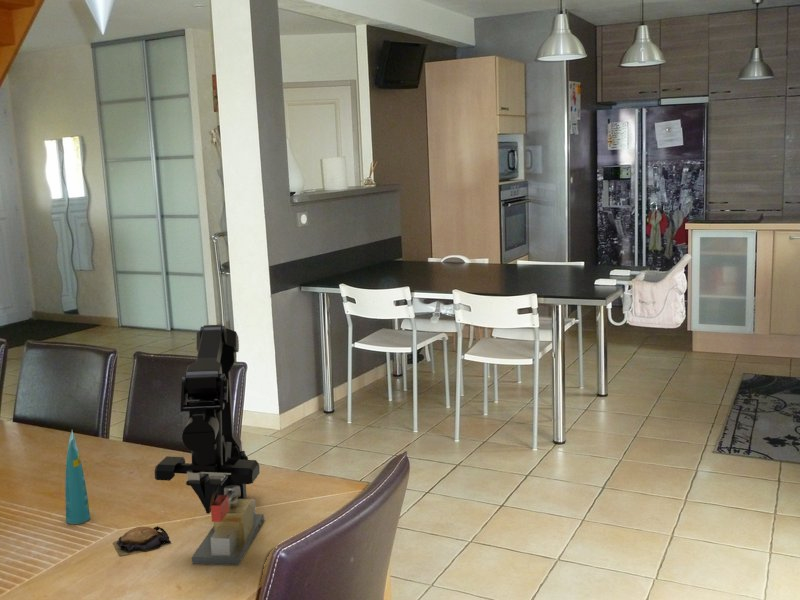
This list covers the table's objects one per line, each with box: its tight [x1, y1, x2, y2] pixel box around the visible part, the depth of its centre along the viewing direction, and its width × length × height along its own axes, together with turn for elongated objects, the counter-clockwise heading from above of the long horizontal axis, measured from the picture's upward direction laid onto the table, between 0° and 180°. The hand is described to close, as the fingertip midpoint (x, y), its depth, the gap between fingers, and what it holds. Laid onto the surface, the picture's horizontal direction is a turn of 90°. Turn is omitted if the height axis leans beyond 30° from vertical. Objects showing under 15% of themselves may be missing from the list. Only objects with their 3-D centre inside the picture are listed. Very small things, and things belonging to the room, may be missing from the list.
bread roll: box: [112, 525, 172, 557], centre depth 165 cm, size 11×8×4 cm
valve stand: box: [191, 498, 265, 566], centre depth 165 cm, size 9×20×9 cm, turn 175°
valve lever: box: [210, 485, 241, 523], centre depth 160 cm, size 12×3×3 cm, turn 175°
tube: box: [64, 429, 91, 525], centre depth 176 cm, size 7×5×19 cm, turn 26°
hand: (208, 512), depth 156 cm, fingers closed
